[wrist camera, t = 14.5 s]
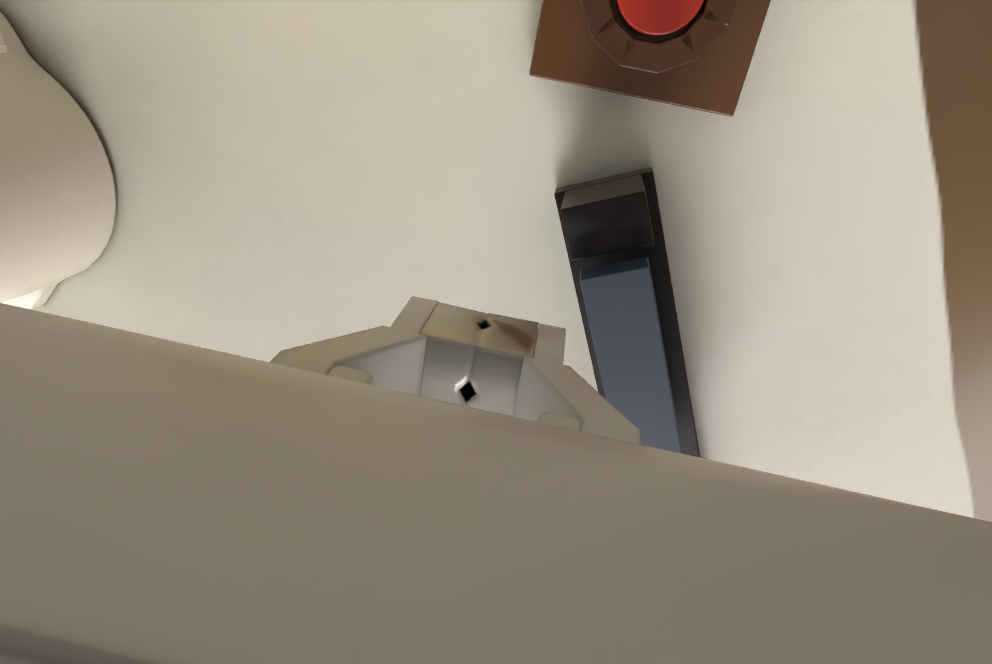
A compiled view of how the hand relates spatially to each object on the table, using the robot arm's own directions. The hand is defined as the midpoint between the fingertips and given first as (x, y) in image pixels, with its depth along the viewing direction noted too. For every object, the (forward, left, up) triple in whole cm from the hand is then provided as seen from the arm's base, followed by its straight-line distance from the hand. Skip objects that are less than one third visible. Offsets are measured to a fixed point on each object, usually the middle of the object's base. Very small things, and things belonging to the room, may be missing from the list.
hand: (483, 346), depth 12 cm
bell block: (+3, +8, -25) cm, 26 cm away
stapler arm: (+7, -11, -19) cm, 23 cm away
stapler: (+7, -10, -25) cm, 27 cm away
